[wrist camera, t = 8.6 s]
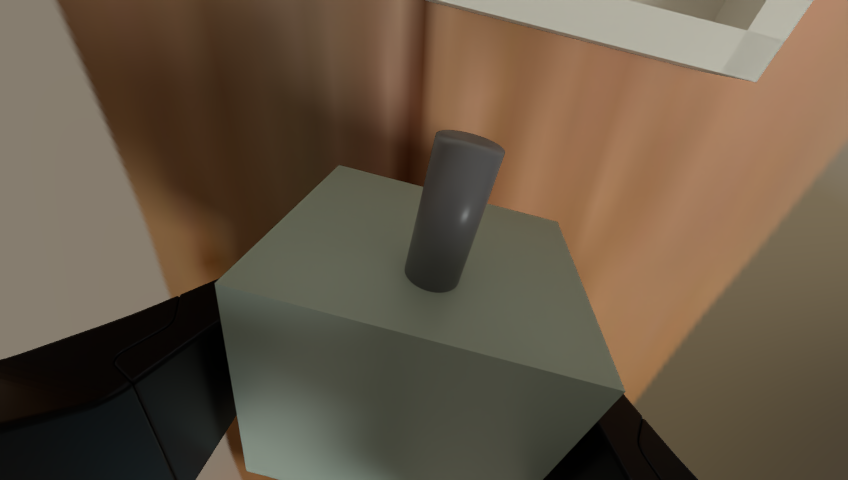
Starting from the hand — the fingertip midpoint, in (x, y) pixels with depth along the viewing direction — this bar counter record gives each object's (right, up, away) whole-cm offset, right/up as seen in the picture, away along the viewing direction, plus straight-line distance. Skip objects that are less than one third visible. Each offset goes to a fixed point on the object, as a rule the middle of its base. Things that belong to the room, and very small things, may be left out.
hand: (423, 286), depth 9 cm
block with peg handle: (0, +1, +1) cm, 1 cm away
